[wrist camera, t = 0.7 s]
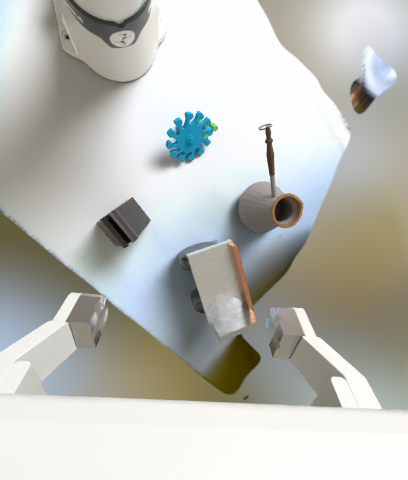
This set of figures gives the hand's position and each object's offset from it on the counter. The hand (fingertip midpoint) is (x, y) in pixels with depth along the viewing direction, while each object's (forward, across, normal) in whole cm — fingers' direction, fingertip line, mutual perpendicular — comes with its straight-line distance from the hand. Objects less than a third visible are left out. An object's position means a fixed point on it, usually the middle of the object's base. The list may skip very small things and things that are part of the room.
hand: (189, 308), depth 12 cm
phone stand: (+36, +14, +17) cm, 42 cm away
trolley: (+36, -4, +27) cm, 45 cm away
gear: (+46, +2, +2) cm, 46 cm away
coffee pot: (+45, -13, +10) cm, 48 cm away
